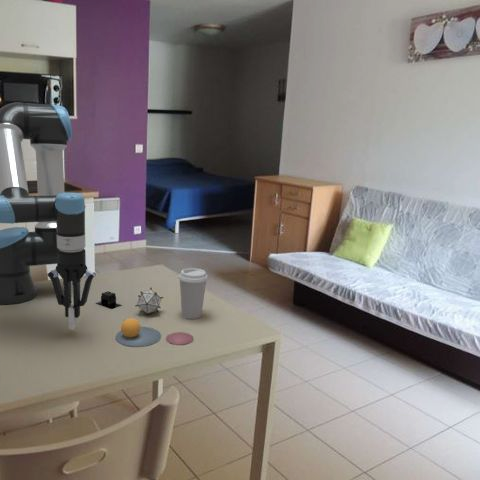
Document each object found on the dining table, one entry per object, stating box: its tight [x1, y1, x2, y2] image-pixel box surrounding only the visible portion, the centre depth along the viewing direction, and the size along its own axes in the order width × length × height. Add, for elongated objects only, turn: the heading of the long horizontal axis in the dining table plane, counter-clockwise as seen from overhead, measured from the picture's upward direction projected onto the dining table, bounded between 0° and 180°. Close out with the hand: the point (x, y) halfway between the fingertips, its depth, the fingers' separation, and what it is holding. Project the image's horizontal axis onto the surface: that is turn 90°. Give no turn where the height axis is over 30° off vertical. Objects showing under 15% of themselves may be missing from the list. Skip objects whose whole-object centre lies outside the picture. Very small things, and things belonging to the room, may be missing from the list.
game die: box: [134, 286, 164, 317], centre depth 156 cm, size 9×8×10 cm
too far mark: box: [165, 331, 194, 346], centre depth 140 cm, size 8×8×1 cm
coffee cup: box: [177, 267, 209, 320], centre depth 155 cm, size 10×10×15 cm
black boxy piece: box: [95, 291, 123, 310], centre depth 161 cm, size 12×7×5 cm, turn 58°
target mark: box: [115, 326, 162, 348], centre depth 139 cm, size 13×13×1 cm
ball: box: [120, 317, 141, 338], centre depth 138 cm, size 6×6×6 cm
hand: (72, 327), depth 138 cm, fingers closed
